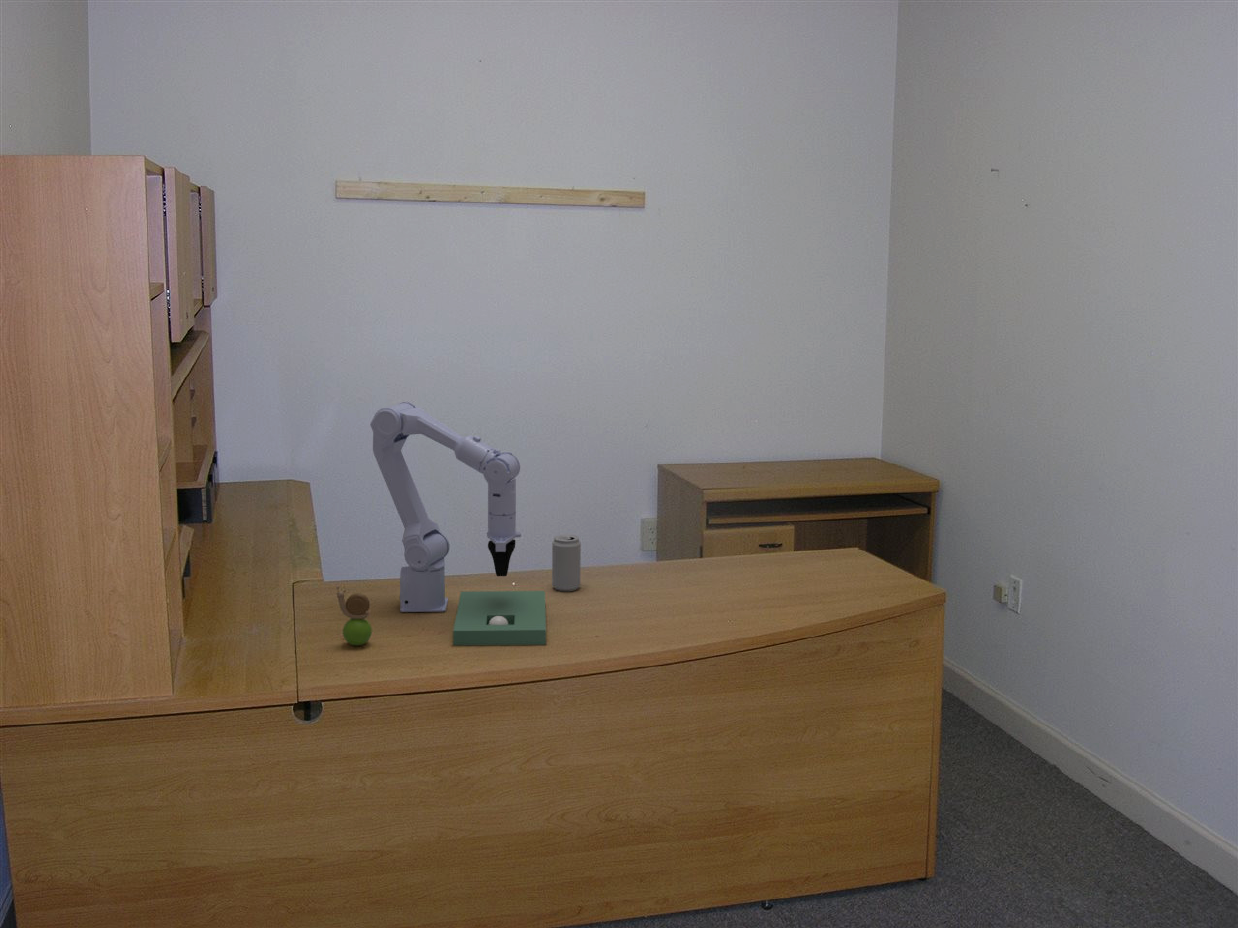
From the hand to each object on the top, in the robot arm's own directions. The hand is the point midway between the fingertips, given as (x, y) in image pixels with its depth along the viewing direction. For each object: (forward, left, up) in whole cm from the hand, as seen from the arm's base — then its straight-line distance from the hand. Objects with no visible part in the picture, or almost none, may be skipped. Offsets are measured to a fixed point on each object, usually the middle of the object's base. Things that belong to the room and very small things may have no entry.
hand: (501, 575), depth 229 cm
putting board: (0, -5, -9) cm, 10 cm away
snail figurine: (-28, -16, -9) cm, 33 cm away
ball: (0, -12, -7) cm, 13 cm away
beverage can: (+14, +18, -9) cm, 25 cm away
